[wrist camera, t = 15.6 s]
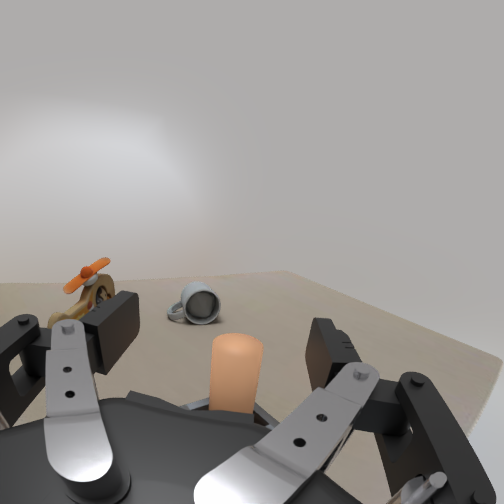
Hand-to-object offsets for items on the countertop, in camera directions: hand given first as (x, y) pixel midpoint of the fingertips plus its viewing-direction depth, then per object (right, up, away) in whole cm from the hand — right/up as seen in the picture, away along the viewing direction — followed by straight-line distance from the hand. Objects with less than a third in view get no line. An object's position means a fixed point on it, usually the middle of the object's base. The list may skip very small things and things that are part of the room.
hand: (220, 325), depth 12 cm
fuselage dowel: (-1, -17, +14) cm, 22 cm away
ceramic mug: (-11, -11, +46) cm, 49 cm away
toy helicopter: (-28, -12, +31) cm, 44 cm away
